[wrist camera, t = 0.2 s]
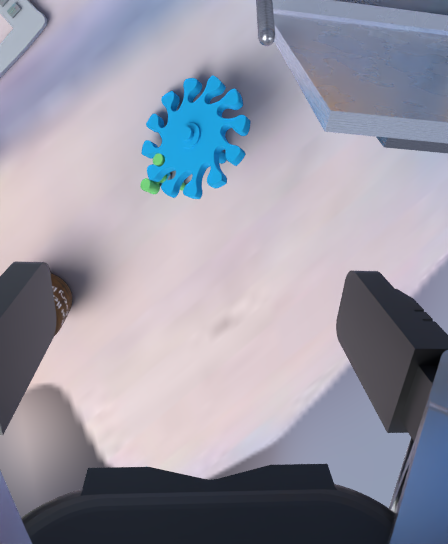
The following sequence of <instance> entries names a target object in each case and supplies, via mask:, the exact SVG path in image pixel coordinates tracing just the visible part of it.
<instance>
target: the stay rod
mask: <svg viewBox="0 0 448 544" xmlns="http://www.w3.org/2000/svg"><path fill="white" fill-rule="evenodd" d="M256 6H257V23H258V38H259V41H260V43H261V44H262V45H264V46H269V45H271V44H272V43H273V42H274V40H275V24H274V13H273V2H272V0H256Z"/></svg>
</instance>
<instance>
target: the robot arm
mask: <svg viewBox="0 0 448 544" xmlns="http://www.w3.org/2000/svg"><path fill="white" fill-rule="evenodd" d="M55 330H56V309H55V302H54V295H53V288H52V281H51V274H50V269H49V266H48V264H47V263H45V262H13V263H12V264H11V265H10V266H9V268H8V269H7V270H6V271H5V272H4V273H3V274H2V275H1V276H0V435H3V434H4V432H5V430H6V428H7V426H8V424H9V423H10V420H11V419H12V417H13V415H14V413H15V411H16V409H17V407H18V405H19V403H20V401H21V399H22V397H23V395H24V394H25V392H26V390H27V388H28V386H29V384H30V382H31V380H32V378H33V376H34V374H35V372H36V370H37V368H38V366H39V364H40V362H41V361H42V359H43V357H44V355H45V353H46V351H47V349H48V347H49V345H50V343H51V341H52V339H53V337H54V334H55ZM336 330H337V337H338V340H339V342H340V344H341V346H342V348H343V350H344V352H345V354H346V356H347V357H348V359H349V361H350V363H351V365H352V367H353V369H354V371H355V373H356V374H357V376H358V378H359V380H360V382H361V384H362V386H363V388H364V389H365V391H366V393H367V395H368V397H369V399H370V401H371V402H372V405H373V406H374V408H375V410H376V412H377V414H378V416H379V418H380V420H381V421H382V423H383V425H384V427H385V429H386V431H387V432H388V433H404V432H408V433H409V434H410V436H411V440H410V443H409V446H408V448H407V451H406V455H405V458H404V461H403V464H402V468H401V471H400V474H399V477H398V480H397V483H396V487H395V490H394V493H393V496H392V500H391V503H390V506H389V508H387V507H386V506H384V505H383V504H381V503H379V502H377V501H376V500H374V499H372V498H370V497H368V496H366V495H364V494H362V493H359V492H357V491H355V490H352V489H349V488H346V487H343V486H340V485H336V484H334V482H333V479H332V476H331V474H330V470H329V468H328V465H327V464H294V465H269V466H265V467H261V468H257V469H253V470H250V471H246V472H242V473H238V474H235V475H231V476H227V477H223V478H219V479H214V480H207V479H202V478H197V477H192V476H188V475H183V474H179V473H174V472H170V471H165V470H161V469H156V468H151V467H119V468H88V470H87V474H86V477H85V481H84V485H83V489H80V490H77V491H73V492H70V493H68V494H65V495H63V496H60V497H57V498H55V499H53V500H51V501H49V502H47V503H45V504H43V505H41V506H39V507H37V508H36V509H34V510H32V511H31V512H29V513H28V514H26V515H25V516H23V517H22V518H21V517H20V515H19V512H18V510H17V508H16V506H15V503H14V501H13V499H12V496H11V494H10V492H9V489H8V487H7V485H6V482H5V480H4V478H3V476H2V473H1V471H0V544H448V335H447V334H446V333H445V332H444V331H443V330H442V328H440V326H439V325H438V324H437V323H436V322H433V320H432V318H431V317H430V316H429V315H428V314H427V313H426V312H424V309H423V308H422V307H421V306H420V305H419V304H418V303H416V301H415V300H414V299H413V298H411V297H410V296H408V295H406V294H404V293H403V292H401V291H399V290H398V289H394V288H393V286H392V285H391V284H390V283H389V282H388V281H387V280H386V279H385V278H384V276H383V275H382V274H381V273H380V272H378V271H350V272H349V273H348V274H347V276H346V279H345V284H344V288H343V293H342V298H341V302H340V307H339V312H338V316H337V323H336Z"/></svg>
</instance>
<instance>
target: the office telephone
mask: <svg viewBox="0 0 448 544" xmlns="http://www.w3.org/2000/svg"><path fill="white" fill-rule="evenodd" d="M0 14H1V15H2V16H3V17H4V18H5V19H6V21H7V22H8V23H9V24H10V25H11V26H12V27H13V30H12V31H11V32H10V33H9V34H8V35H7V37H6V38H5V39H4V40H3V41H2V43H1V44H0V78H1V77H2V75H3V74H4V73H5V72H6V71H7V70H8V69H9V68H10V67H11V66H12V65H13V64H14V63H15V62H16V61H17V60H18V59H19V58H20V56H21V55H22V54H23V53H24V52H25V51H26V50H27V49H28V48H29V47H30V45H31V44H32V43H33V42H34V41H35V39H36V38H37V37H38V36H39V35H40V33H41V32H42V31H43V30H44V28H45V27H46V26H47V22H48V21H47V18H46V16H45V15H44V14H43V13H41V12H40V11H39V10H38V9H37V8H36V7H35V6H34V5H33V4H32V3H31V2H30V1H29V0H0Z"/></svg>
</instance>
